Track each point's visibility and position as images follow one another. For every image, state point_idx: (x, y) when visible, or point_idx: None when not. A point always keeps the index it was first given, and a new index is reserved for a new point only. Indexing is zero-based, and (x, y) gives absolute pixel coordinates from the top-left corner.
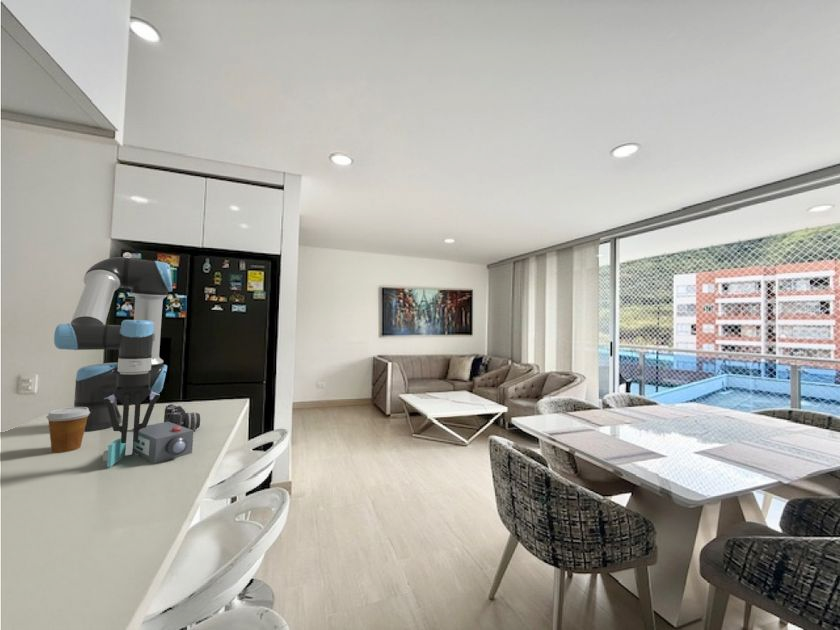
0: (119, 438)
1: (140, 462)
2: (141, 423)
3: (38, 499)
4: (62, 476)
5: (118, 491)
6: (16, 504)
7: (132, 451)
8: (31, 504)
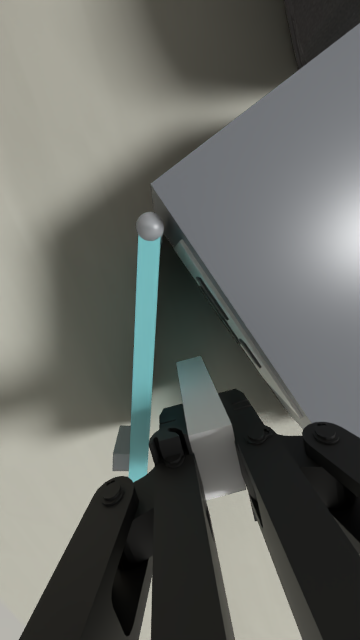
0: (139, 391)
1: (234, 383)
2: (314, 478)
3: None
4: (20, 447)
5: (231, 579)
6: (17, 597)
7: (169, 240)
8: None
